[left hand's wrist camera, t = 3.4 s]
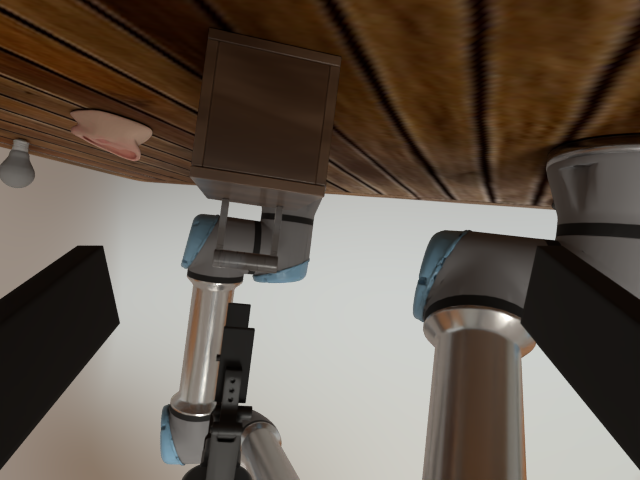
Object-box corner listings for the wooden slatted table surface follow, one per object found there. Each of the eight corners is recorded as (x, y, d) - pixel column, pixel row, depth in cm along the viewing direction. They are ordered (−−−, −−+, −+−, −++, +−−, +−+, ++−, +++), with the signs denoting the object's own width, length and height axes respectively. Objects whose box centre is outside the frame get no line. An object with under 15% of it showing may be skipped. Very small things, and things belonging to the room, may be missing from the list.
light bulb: (34, 139, 81) (27, 188, 81) (43, 145, 87) (36, 191, 86) (-2, 133, 79) (-9, 183, 79) (9, 139, 84) (2, 186, 84)
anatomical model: (71, 133, 52) (162, 154, 59) (75, 103, 52) (166, 128, 59) (61, 146, 62) (140, 163, 69) (65, 121, 62) (143, 140, 69)
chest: (308, 116, 46) (297, 203, 46) (219, 99, 44) (207, 190, 44) (341, 56, 31) (325, 185, 31) (209, 27, 29) (190, 164, 29)
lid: (296, 204, 47) (288, 273, 46) (208, 191, 45) (198, 263, 44) (325, 186, 31) (312, 290, 31) (190, 165, 29) (176, 276, 29)
